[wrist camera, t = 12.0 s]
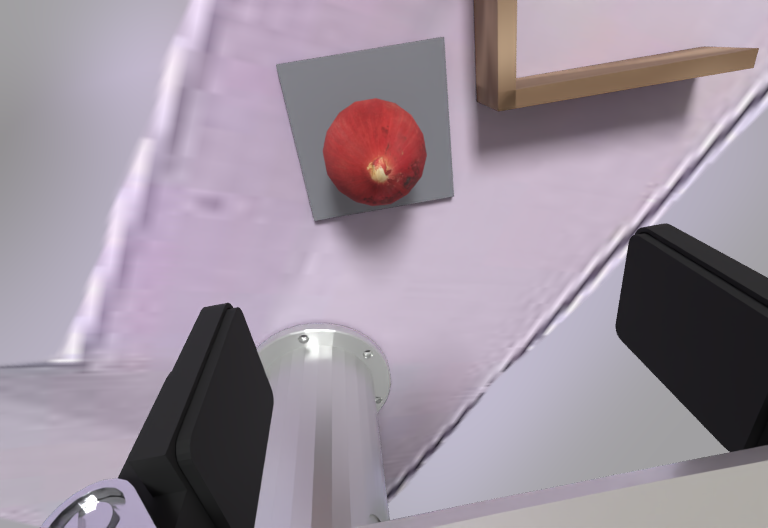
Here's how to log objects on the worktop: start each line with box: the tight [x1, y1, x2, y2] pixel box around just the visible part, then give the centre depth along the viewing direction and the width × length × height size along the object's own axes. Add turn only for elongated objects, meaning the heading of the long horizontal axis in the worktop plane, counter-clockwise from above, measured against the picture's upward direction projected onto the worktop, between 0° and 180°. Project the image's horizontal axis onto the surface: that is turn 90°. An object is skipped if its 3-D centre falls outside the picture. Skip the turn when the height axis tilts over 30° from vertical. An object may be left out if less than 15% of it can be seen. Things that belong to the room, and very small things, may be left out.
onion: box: [323, 98, 427, 206], centre depth 23 cm, size 6×6×8 cm
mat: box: [276, 37, 454, 221], centre depth 27 cm, size 10×10×1 cm
